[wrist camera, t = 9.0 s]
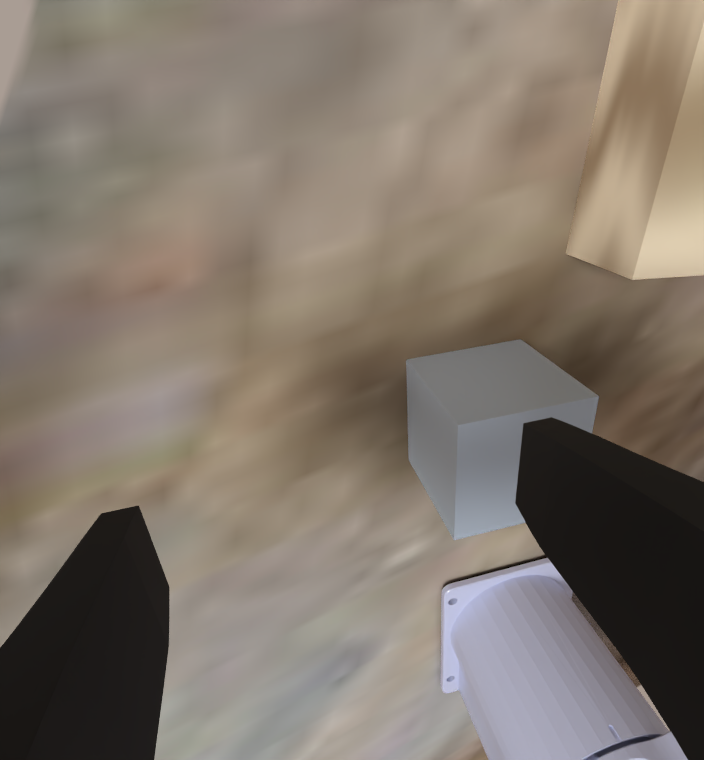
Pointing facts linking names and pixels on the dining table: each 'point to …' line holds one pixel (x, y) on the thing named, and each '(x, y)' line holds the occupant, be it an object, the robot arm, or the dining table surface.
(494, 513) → the dusty blue block
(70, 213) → the dining table surface
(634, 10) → the birch base block
